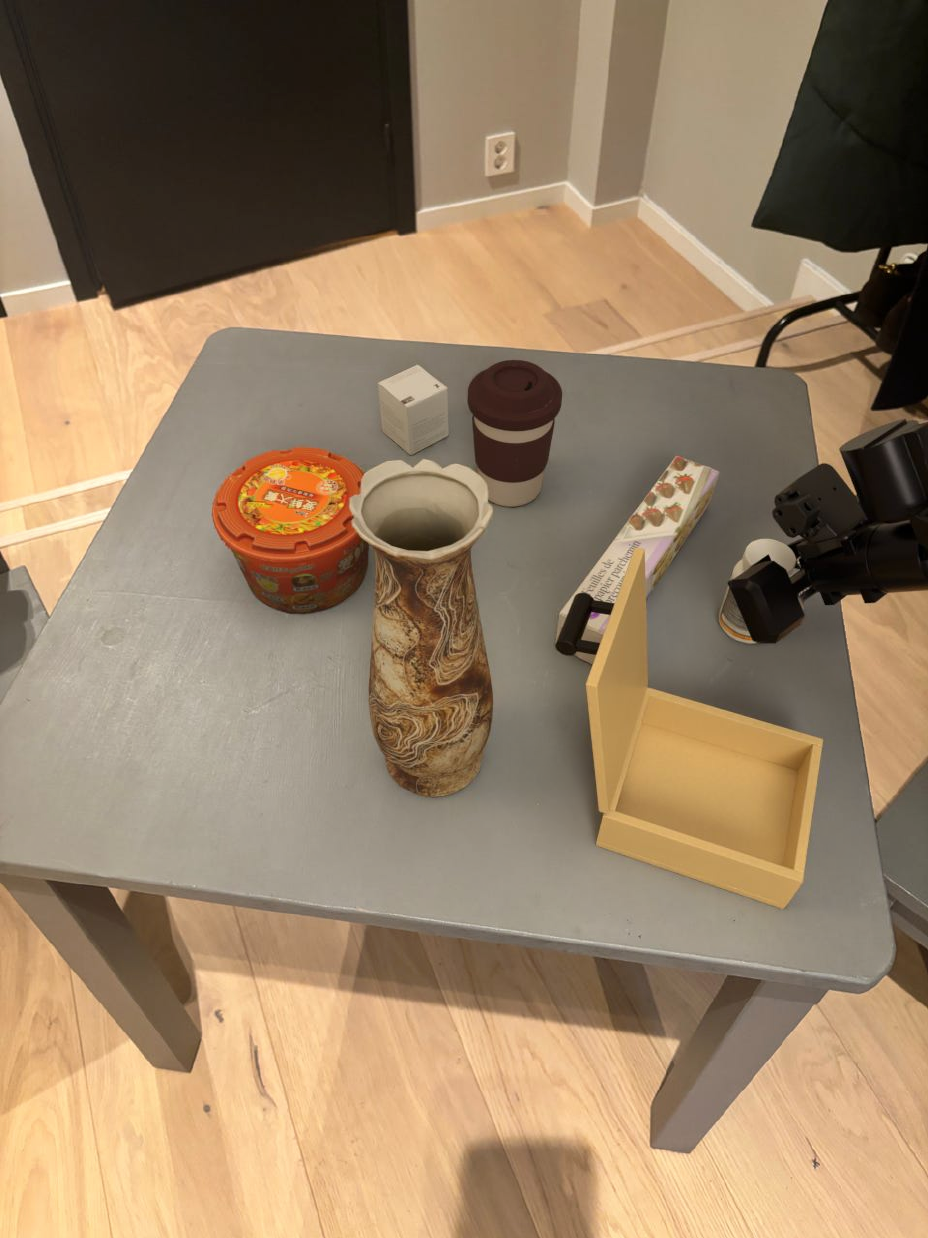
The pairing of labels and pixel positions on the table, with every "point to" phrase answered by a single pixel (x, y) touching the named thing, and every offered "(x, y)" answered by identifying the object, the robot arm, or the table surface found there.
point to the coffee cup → (513, 428)
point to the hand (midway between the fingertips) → (751, 571)
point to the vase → (426, 622)
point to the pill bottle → (753, 553)
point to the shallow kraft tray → (716, 798)
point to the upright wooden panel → (612, 671)
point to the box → (648, 539)
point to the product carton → (414, 409)
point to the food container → (294, 528)
